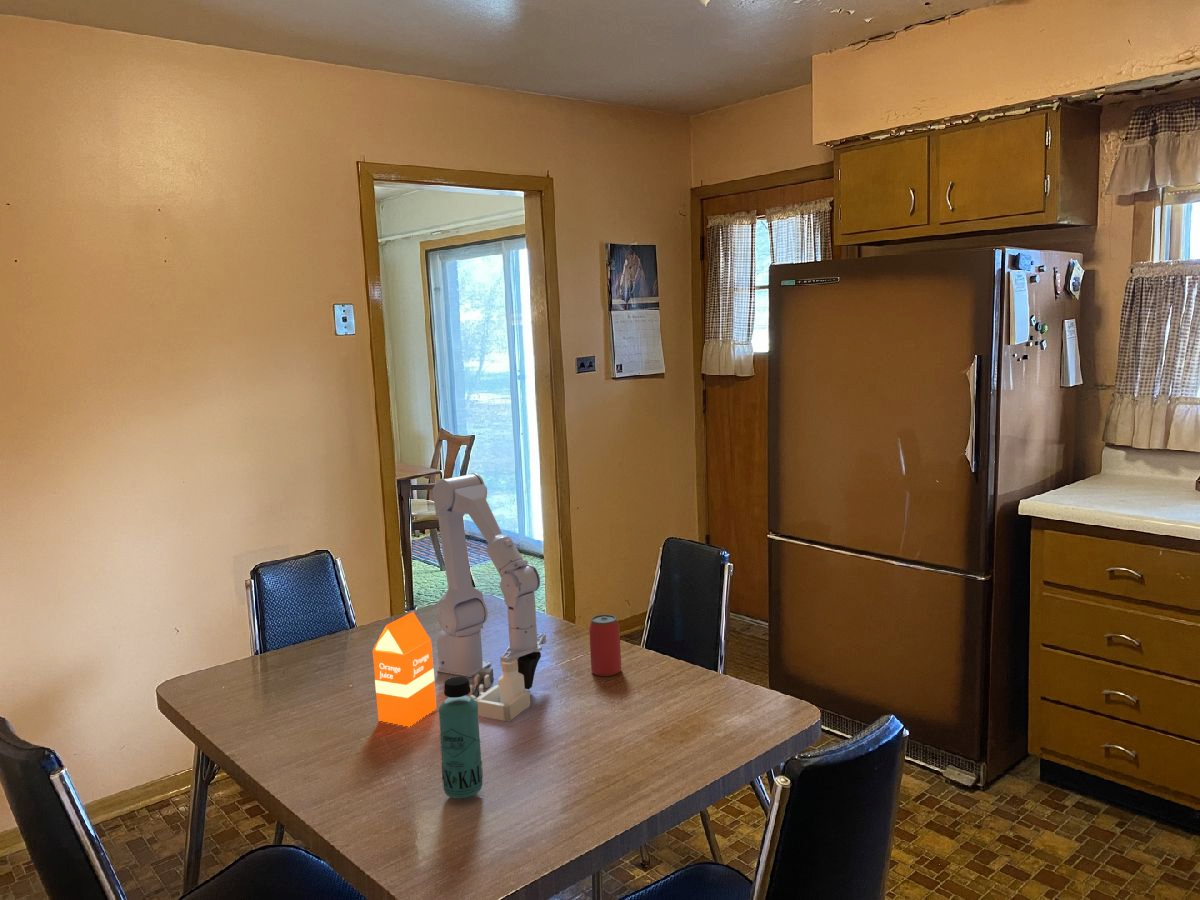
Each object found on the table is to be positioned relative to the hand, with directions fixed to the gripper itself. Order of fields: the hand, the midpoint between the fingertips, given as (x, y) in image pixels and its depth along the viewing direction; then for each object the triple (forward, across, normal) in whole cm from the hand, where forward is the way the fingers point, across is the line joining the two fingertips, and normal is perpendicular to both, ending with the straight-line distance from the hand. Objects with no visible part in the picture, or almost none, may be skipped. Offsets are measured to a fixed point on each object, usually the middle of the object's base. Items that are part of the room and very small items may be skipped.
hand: (526, 687), depth 181 cm
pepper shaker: (+1, -6, -1) cm, 6 cm away
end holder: (+1, -9, 0) cm, 9 cm away
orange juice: (+1, -18, +16) cm, 24 cm away
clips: (+1, -5, +8) cm, 10 cm away
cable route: (+1, -4, +8) cm, 9 cm away
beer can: (+1, +16, -10) cm, 19 cm away
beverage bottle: (+1, -39, -12) cm, 41 cm away
